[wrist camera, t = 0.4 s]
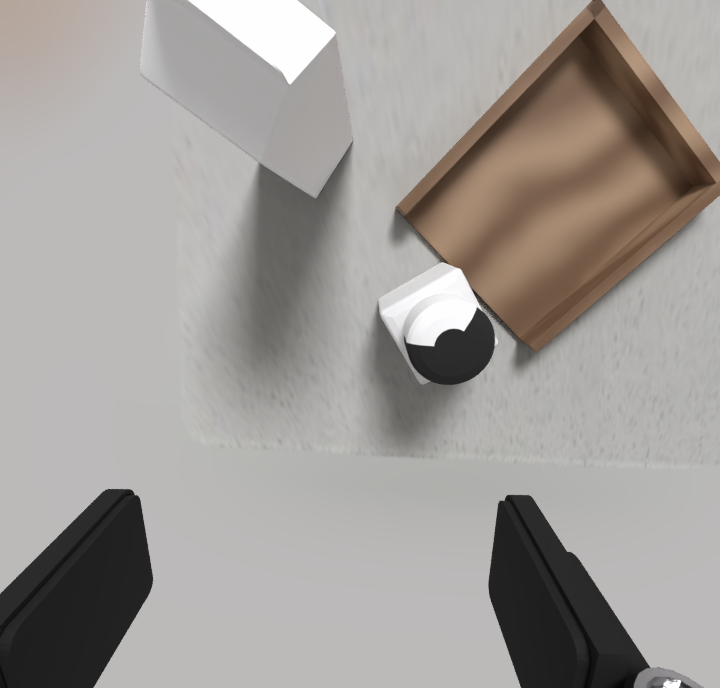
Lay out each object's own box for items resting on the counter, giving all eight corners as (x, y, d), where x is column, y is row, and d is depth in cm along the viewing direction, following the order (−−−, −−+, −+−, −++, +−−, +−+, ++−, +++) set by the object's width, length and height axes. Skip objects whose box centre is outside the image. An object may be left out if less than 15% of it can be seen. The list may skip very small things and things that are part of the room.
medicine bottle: (477, 325, 38) (524, 365, 27) (412, 360, 39) (430, 413, 28) (443, 260, 37) (477, 272, 25) (376, 299, 38) (379, 328, 26)
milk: (296, 94, 33) (166, -160, 12) (355, 140, 34) (332, -22, 13) (258, 159, 35) (82, 35, 13) (316, 201, 35) (236, 148, 14)
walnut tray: (705, 186, 34) (734, 182, 32) (524, 343, 38) (536, 352, 36) (577, 16, 31) (597, -5, 28) (395, 207, 35) (397, 205, 33)
